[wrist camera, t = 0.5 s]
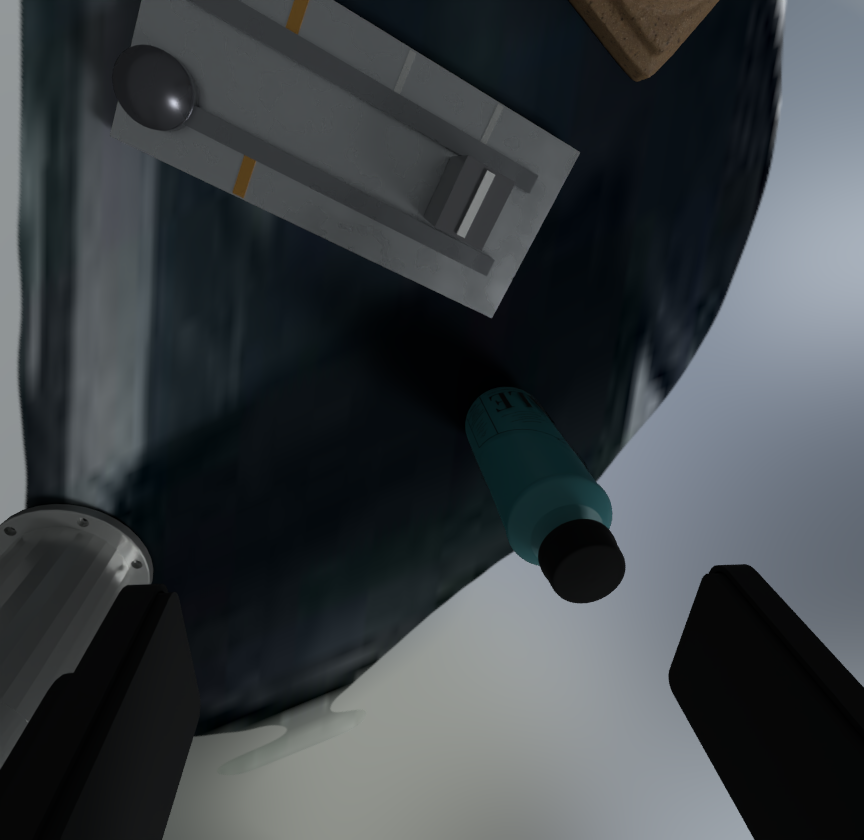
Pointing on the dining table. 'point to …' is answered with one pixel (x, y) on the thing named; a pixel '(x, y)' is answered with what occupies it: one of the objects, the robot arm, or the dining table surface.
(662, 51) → the candle holder
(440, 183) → the fader tab
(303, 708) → the dining table surface
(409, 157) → the console
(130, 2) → the dining table surface
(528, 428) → the beverage bottle
